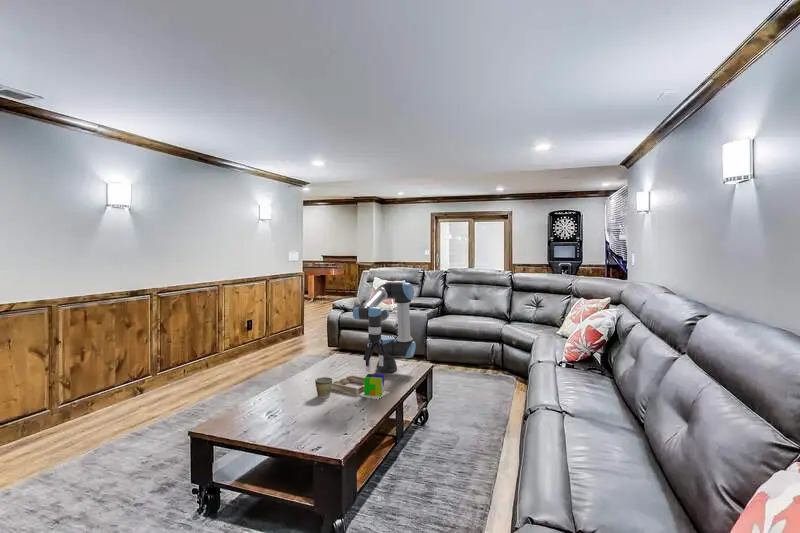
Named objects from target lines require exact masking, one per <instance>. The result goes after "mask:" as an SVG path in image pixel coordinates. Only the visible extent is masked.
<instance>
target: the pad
mask: <svg viewBox="0 0 800 533" xmlns="http://www.w3.org/2000/svg"><path fill="white" fill-rule="evenodd" d="M387 394H388V395H390V391H386V390H384V392H383V394H382V395H381V396H368V395H364V392H363V393H361V394H359V395H358V396H359V397H363V398H367V399H368V398H369V399H371V398H372V399H371V400H376V399H377V400H380V399H382V398H384V397H386V396H387ZM385 395H386V396H385ZM383 396H384V397H383ZM381 397H382V398H381ZM379 398H380V399H379Z"/></svg>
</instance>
